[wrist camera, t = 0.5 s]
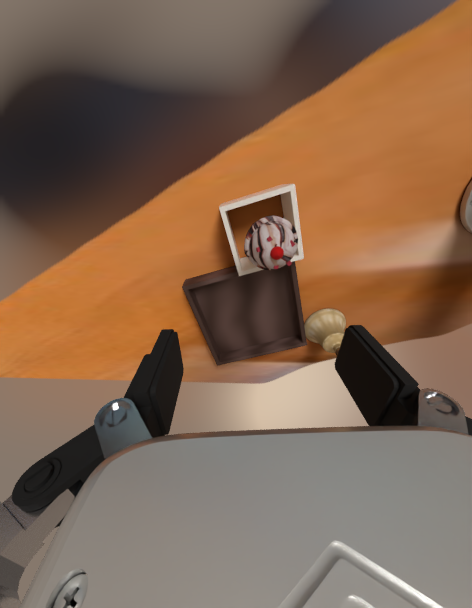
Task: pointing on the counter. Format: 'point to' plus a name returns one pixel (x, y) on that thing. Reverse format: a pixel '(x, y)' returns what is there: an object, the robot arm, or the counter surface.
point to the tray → (247, 312)
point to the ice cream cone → (271, 243)
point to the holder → (289, 213)
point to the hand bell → (326, 329)
